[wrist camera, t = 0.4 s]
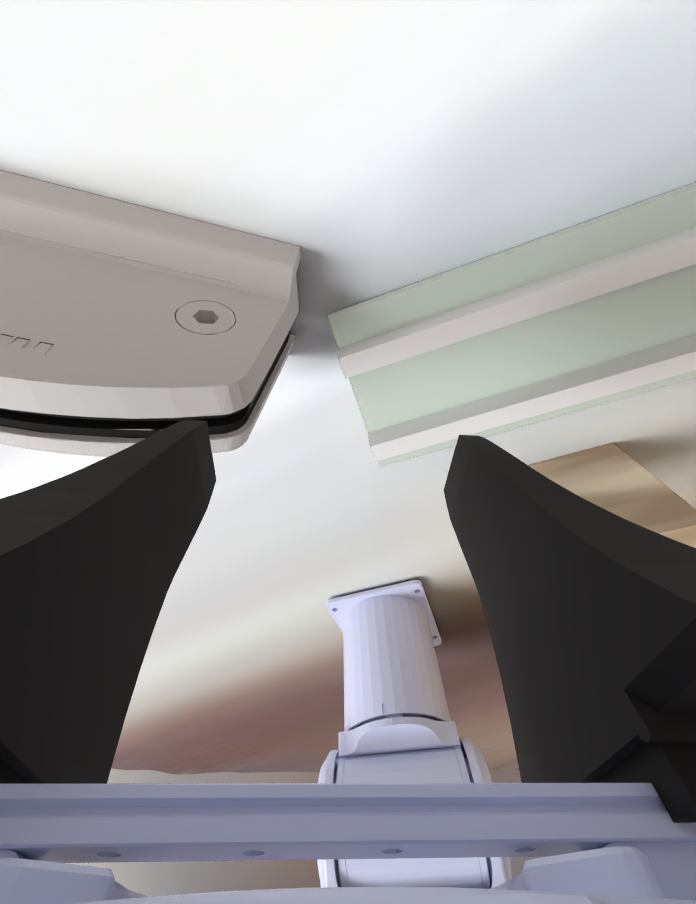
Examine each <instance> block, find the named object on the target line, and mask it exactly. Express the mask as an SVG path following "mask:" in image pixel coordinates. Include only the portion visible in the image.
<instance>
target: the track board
mask: <svg viewBox="0 0 696 904" xmlns="http://www.w3.org/2000/svg"><path fill="white" fill-rule="evenodd" d="M328 321H329V324H330V327H331V329H332V332H333V335H334V338H335V341H336V344H337V346H338V359H339V362H340V365H341V368H342V370H343V373H344V376H345V379H346V378H349V381H350V383H351V386H352V389H353V392H354V395H355V398H356V400H357V403H358V406H359V409H360V412H361V415H362V418H363V420H364V423H365V426H366V429H367V432H368V438H369V445H370V449H371V452H372V454H373V457H374V460H375V461H378V463H379V466H380V467H382V466H385V465H389V464H392V463H396V462H400V461H403V460H407V459H410V458H414V457H417V456H421V455H424V454H428V453H431V452H435V451H439V450H442V449H446V448H449V447H453V446H456V444H457V440H458V436H459V435H474V436H481V437H483V438H485V437H488V436H492V435H495V434H499V433H502V432H506V431H509V430H513V429H516V428H520V427H523V426H527V425H531V424H534V423H538V422H541V421H545V420H548V419H552V418H555V417H559V416H562V415H566V414H570V413H573V412H577V411H580V410H584V409H587V408H591V407H594V406H598V405H601V404H605V403H608V402H612V401H616V400H619V399H623V398H626V397H630V396H633V395H637V394H640V393H644V392H647V391H651V390H654V389H658V388H662V387H665V386H669V385H672V384H676V383H679V382H683V381H686V380H690V379H693V378H696V182H694V183H692V184H689V185H686V186H683V187H680V188H678V189H675V190H672V191H669V192H667V193H664V194H661V195H658V196H655V197H653V198H650V199H647V200H644V201H642V202H639V203H636V204H633V205H630V206H628V207H625V208H622V209H619V210H617V211H614V212H611V213H608V214H605V215H603V216H600V217H597V218H594V219H591V220H589V221H586V222H583V223H580V224H578V225H575V226H572V227H569V228H566V229H564V230H561V231H558V232H555V233H553V234H550V235H547V236H544V237H541V238H539V239H536V240H533V241H530V242H528V243H525V244H522V245H519V246H516V247H514V248H511V249H508V250H505V251H503V252H500V253H497V254H494V255H491V256H489V257H486V258H483V259H480V260H478V261H475V262H472V263H469V264H466V265H464V266H461V267H458V268H455V269H453V270H450V271H447V272H444V273H441V274H439V275H436V276H433V277H430V278H428V279H425V280H422V281H419V282H416V283H414V284H411V285H408V286H405V287H402V288H400V289H397V290H394V291H391V292H389V293H386V294H383V295H380V296H377V297H375V298H372V299H369V300H366V301H364V302H361V303H358V304H355V305H352V306H350V307H347V308H344V309H341V310H339V311H336V312H333V313H330V314H328Z"/></svg>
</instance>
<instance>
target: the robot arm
mask: <svg viewBox="0 0 696 904" xmlns="http://www.w3.org/2000/svg"><path fill="white" fill-rule="evenodd" d="M215 482H216V476H215V470H214V463H213V457H212V450H211V444H210V437H209V431H208V425H207V421H197V420H183V421H180V422H178V423H175V424H173V425H171V426H169V427H167V428H165V429H163V430H161V431H159V432H157V433H155V434H153V435H151V436H149V437H147V438H145V439H143V440H141V441H140V442H138V443H136V444H134V445H132V446H130V447H128V448H126V449H124V450H122V451H120V452H118V453H115V454H113V455H111V456H109V457H107V458H105V459H103V460H101V461H98V462H96V463H94V464H92V465H90V466H88V467H86V468H83V469H81V470H79V471H76V472H74V473H72V474H69V475H67V476H64V477H62V478H59V479H57V480H54V481H51V482H49V483H46V484H43V485H41V486H38V487H36V488H33V489H30V490H27V491H24V492H21V493H18V494H15V495H12V496H9V497H6V498H2V499H0V904H696V548H694V547H691V546H689V545H686V544H683V543H681V542H678V541H676V540H673V539H671V538H668V537H666V536H663V535H661V534H659V533H656V532H654V531H651V530H649V529H647V528H644V527H642V526H640V525H637V524H635V523H633V522H631V521H628V520H626V519H624V518H622V517H620V516H617V515H615V514H613V513H611V512H609V511H607V510H605V509H603V508H601V507H599V506H597V505H595V504H593V503H591V502H589V501H587V500H585V499H584V498H582V497H580V496H578V495H576V494H574V493H573V492H571V491H569V490H567V489H566V488H564V487H562V486H561V485H559V484H557V483H555V482H554V481H552V480H550V479H549V478H547V477H545V476H544V475H542V474H541V473H539V472H537V471H536V470H534V469H533V468H531V467H530V466H528V465H526V464H525V463H523V462H522V461H520V460H519V459H517V458H516V457H514V456H513V455H511V454H510V453H508V452H506V451H505V450H503V449H502V448H500V447H499V446H497V445H495V444H494V443H492V442H491V441H489V440H487V439H485V438H483V437H481V436H474V435H459V436H458V440H457V444H456V447H455V451H454V455H453V458H452V462H451V466H450V469H449V473H448V477H447V480H446V484H445V488H444V494H445V498H446V503H447V508H448V512H449V516H450V520H451V522H452V525H453V528H454V530H455V533H456V536H457V538H458V541H459V543H460V546H461V548H462V551H463V554H464V556H465V559H466V561H467V564H468V566H469V569H470V571H471V574H472V576H473V579H474V581H475V584H476V587H477V590H478V593H479V596H480V598H481V602H482V605H483V609H484V613H485V616H486V620H487V624H488V627H489V631H490V635H491V639H492V643H493V647H494V651H495V655H496V659H497V663H498V667H499V671H500V676H501V680H502V685H503V689H504V694H505V699H506V703H507V708H508V713H509V717H510V722H511V727H512V733H513V738H514V744H515V749H516V754H517V760H518V765H519V770H520V776H521V782H522V783H492V780H491V777H490V774H489V771H488V768H487V765H486V762H485V759H484V757H483V755H482V752H481V751H480V749H478V748H477V747H476V746H475V745H474V744H473V743H472V741H471V740H470V739H469V738H460V741H459V737H458V732H457V728H456V724H455V722H454V721H451V720H450V716H449V711H448V707H447V702H446V698H445V693H444V689H443V684H442V680H441V675H440V671H439V667H438V662H437V658H436V653H435V649H434V646H438V645H440V644H441V643H442V641H441V637H440V634H439V631H438V628H437V626H436V623H435V620H434V617H433V614H432V611H431V608H430V606H429V603H428V600H427V597H426V594H425V591H424V588H423V586H422V583H421V581H419V580H412V581H407V582H403V583H399V584H394V585H390V586H385V587H381V588H377V589H372V590H368V591H363V592H359V593H355V594H350V595H346V596H342V597H337V598H333V599H329V600H328V601H327V607H328V609H329V611H330V612H331V614H332V616H333V617H334V619H335V621H336V622H337V624H338V625H339V627H340V629H341V630H342V632H343V634H344V719H345V731H344V732H339V750H332V751H330V752H329V754H328V756H327V758H326V760H325V761H324V763H323V765H322V767H321V770H320V774H319V780H318V783H245V784H244V783H239V784H238V783H237V784H236V783H230V784H229V783H225V784H224V783H222V784H221V783H211V784H210V783H204V784H202V783H196V784H195V783H194V784H193V783H178V784H177V783H174V784H171V783H168V784H107V781H108V777H109V773H110V770H111V766H112V763H113V759H114V755H115V752H116V748H117V745H118V741H119V738H120V734H121V731H122V727H123V723H124V720H125V716H126V713H127V710H128V707H129V703H130V700H131V697H132V694H133V691H134V687H135V684H136V681H137V678H138V674H139V671H140V668H141V665H142V662H143V659H144V656H145V653H146V650H147V647H148V644H149V641H150V638H151V635H152V632H153V629H154V627H155V624H156V621H157V618H158V616H159V613H160V610H161V607H162V605H163V602H164V599H165V596H166V594H167V591H168V589H169V587H170V584H171V582H172V580H173V578H174V575H175V573H176V571H177V569H178V567H179V565H180V563H181V561H182V559H183V557H184V555H185V553H186V551H187V549H188V547H189V545H190V543H191V541H192V539H193V537H194V535H195V533H196V531H197V529H198V527H199V525H200V523H201V521H202V518H203V516H204V514H205V512H206V510H207V507H208V504H209V501H210V498H211V495H212V492H213V489H214V485H215ZM543 856H544V858H537V859H531V860H527V861H526V862H525V864H524V867H523V870H522V872H521V873H520V874H518V875H517V876H515V877H514V878H513V879H512V876H511V864H510V857H543ZM545 856H550V857H545ZM237 860H238V861H242V860H317V862H318V869H319V876H320V881H321V888H291V889H290V888H288V889H266V890H243V891H221V892H207V893H194V894H180V895H166V896H153V897H148V896H145V895H142V894H139V893H136V892H133V891H130V890H128V889H126V888H125V887H123V886H122V885H120V884H119V883H117V882H116V881H115V879H114V876H113V873H112V870H111V869H108V868H99V867H91V866H82V865H73V864H65V863H86V862H87V863H90V862H161V861H163V862H164V861H165V862H166V861H237Z"/></svg>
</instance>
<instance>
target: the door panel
mask: <svg viewBox="0 0 696 904" xmlns="http://www.w3.org/2000/svg"><path fill="white" fill-rule="evenodd" d="M528 466H530V467H531V468H533V469H534V470H536V471H537V472H539V473H541V474H542V475H544V476H545V477H547V478H549V479H550V480H552V481H554V482H555V483H557V484H559V485H561V486H562V487H564V488H566V489H567V490H569V491H571V492H573V493H574V494H576V495H578V496H580V497H582V498H584V499H585V500H587V501H589V502H591V503H593V504H595V505H597V506H599V507H601V508H603V509H605V510H607V511H609V512H611V513H613V514H615V515H617V516H620V517H622V518H624V519H626V520H628V521H631V522H633V523H635V524H637V525H640V526H642V527H644V528H647V529H649V530H651V531H654V532H656V533H659V534H661V535H663V536H666V537H668V538H671V539H673V540H676V541H678V542H681V543H683V544H686V545H689V546H691V547H694V548H696V509H695V508H693V507H692V506H691V505H690V504H688V503H687V502H686V501H685V500H683V499H682V498H681V497H680V496H678V495H677V494H676V493H675V492H673V491H672V490H671V489H670V488H668V487H667V486H666V485H665V484H664V483H662V482H661V481H660V480H659V479H657V478H656V477H655V476H654V475H652V474H651V473H650V472H649V471H647V470H646V469H645V468H644V467H642V466H641V465H640V464H639V463H637V462H636V461H635V460H634V459H632V458H631V457H630V456H629V455H627V454H626V453H625V452H624V451H622V450H621V449H620V448H619V447H618V446H616V445H615V444H614V443H609V444H605V445H602V446H598V447H594V448H590V449H587V450H583V451H579V452H575V453H572V454H568V455H564V456H560V457H557V458H553V459H549V460H545V461H541V462H538V463H534V464H530V465H528Z"/></svg>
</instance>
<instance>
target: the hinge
mask: <svg viewBox="0 0 696 904" xmlns="http://www.w3.org/2000/svg"><path fill="white" fill-rule="evenodd" d="M300 259H301V255H300V246H296V245H292V244H288V243H284V242H280V241H276V240H272V239H268V238H264V237H260V236H256V235H252V234H249V233H245V232H241V231H237V230H233V229H229V228H225V227H221V226H217V225H213V224H209V223H205V222H202V221H198V220H194V219H190V218H186V217H182V216H178V215H174V214H170V213H166V212H162V211H158V210H154V209H151V208H147V207H143V206H139V205H135V204H131V203H127V202H123V201H119V200H115V199H111V198H107V197H103V196H100V195H96V194H92V193H88V192H84V191H80V190H76V189H72V188H68V187H64V186H60V185H56V184H53V183H49V182H45V181H41V180H37V179H33V178H29V177H25V176H21V175H17V174H13V173H9V172H5V171H2V170H0V444H3V445H8V446H14V447H19V448H25V449H32V450H40V451H47V452H55V453H64V454H76V455H88V456H106V457H109V456H111V455H113V454H115V453H118V452H120V451H122V450H124V449H126V448H128V447H130V446H132V445H134V444H136V443H138V442H140V441H141V440H143V439H145V438H147V437H149V436H151V435H153V434H155V433H157V432H159V431H161V430H163V429H165V428H167V427H169V426H171V425H173V424H175V423H178V422H180V421H183V420H197V421H207V425H208V431H209V437H210V444H211V450H212V453H217V452H226V451H231V450H234V449H237V448H239V447H240V446H242V445H243V444H244V443H245V442H246V441H247V439H248V437H249V435H250V433H251V431H252V429H253V427H254V425H255V423H256V421H257V419H258V417H259V415H260V413H261V411H262V409H263V406H264V404H265V402H266V400H267V398H268V396H269V394H270V392H271V390H272V388H273V386H274V384H275V382H276V380H277V378H278V376H279V374H280V372H281V370H282V368H283V366H284V363H285V361H286V359H287V357H288V355H289V353H290V350H291V348H292V345H293V343H294V340H295V338H296V336H295V335H291V334H290V329H291V327H292V325H293V323H294V321H295V319H296V317H297V315H298V313H299V304H298V291H297V278H296V273H297V269H298V266H299V263H300Z"/></svg>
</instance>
